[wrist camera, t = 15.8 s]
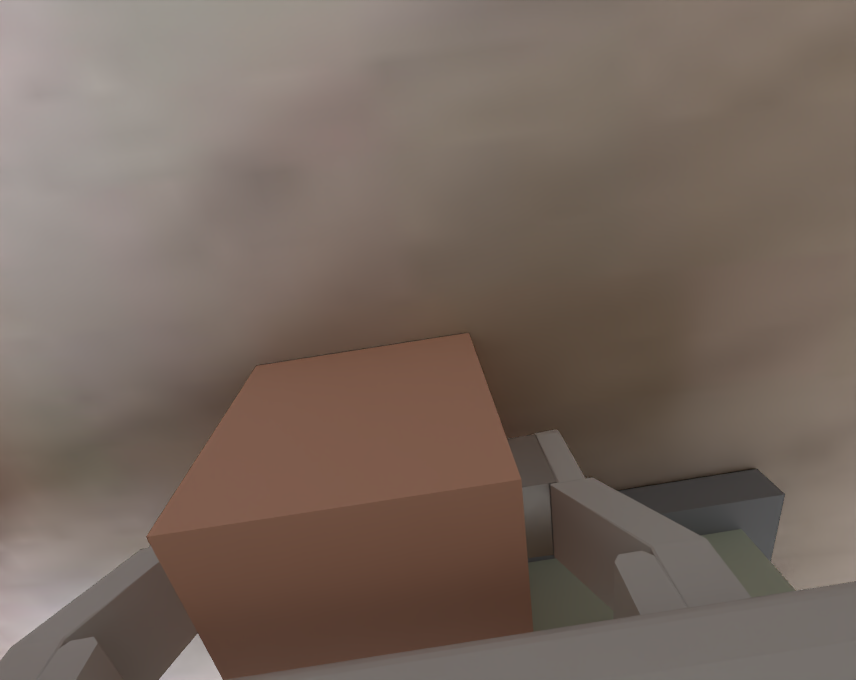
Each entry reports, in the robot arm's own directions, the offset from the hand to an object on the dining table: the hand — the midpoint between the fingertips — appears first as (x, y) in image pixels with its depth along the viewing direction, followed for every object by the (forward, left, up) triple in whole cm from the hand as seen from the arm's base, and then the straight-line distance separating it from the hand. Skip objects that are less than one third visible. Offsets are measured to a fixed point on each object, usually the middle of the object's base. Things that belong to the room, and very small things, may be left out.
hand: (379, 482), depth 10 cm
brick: (0, 0, -2) cm, 2 cm away
